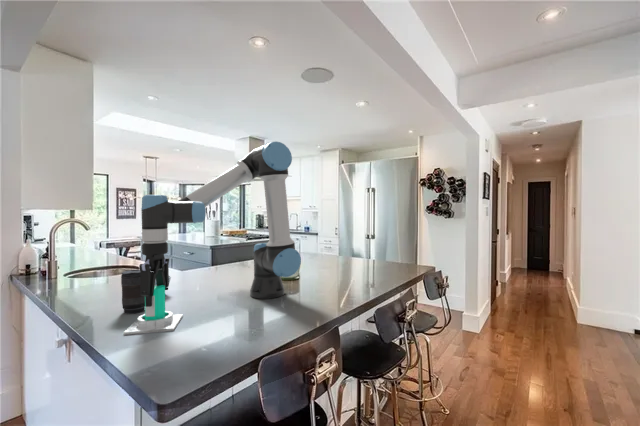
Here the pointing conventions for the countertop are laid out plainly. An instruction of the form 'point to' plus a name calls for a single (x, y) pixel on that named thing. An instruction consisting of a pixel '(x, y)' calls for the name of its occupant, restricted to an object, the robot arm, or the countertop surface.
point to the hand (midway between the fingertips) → (155, 312)
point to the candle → (158, 303)
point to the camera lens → (132, 292)
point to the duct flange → (154, 324)
